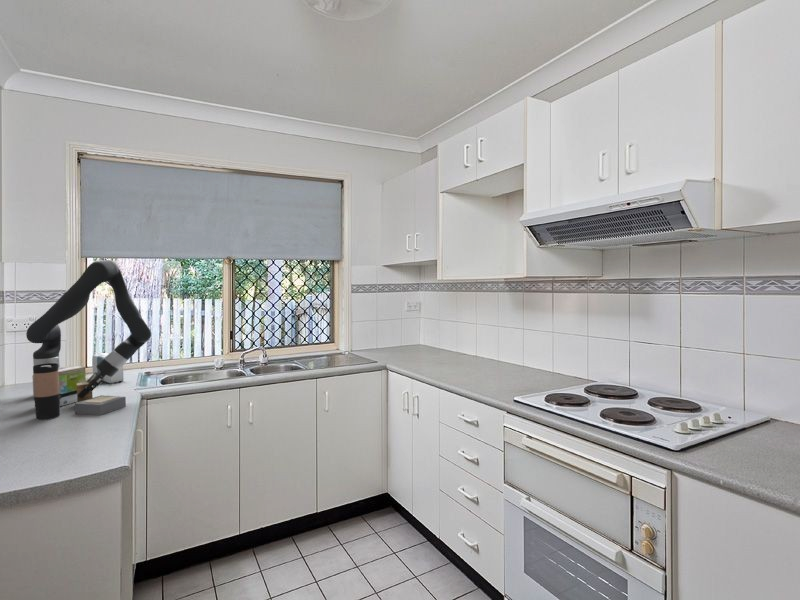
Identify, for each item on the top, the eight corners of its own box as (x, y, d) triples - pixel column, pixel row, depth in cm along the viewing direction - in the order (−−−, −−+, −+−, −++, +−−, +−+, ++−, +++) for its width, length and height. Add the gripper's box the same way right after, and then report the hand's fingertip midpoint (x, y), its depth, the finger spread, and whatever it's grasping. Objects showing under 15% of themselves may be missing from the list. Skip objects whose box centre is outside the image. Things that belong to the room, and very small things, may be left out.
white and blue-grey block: (92, 379, 235) (90, 341, 234) (109, 376, 242) (108, 339, 241) (108, 384, 223) (106, 344, 222) (126, 381, 229) (124, 342, 228)
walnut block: (78, 407, 184) (77, 385, 183) (77, 404, 188) (76, 383, 187) (92, 404, 187) (91, 383, 187) (92, 402, 191) (91, 381, 190)
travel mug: (39, 415, 173) (37, 364, 172) (63, 413, 176) (61, 362, 175) (31, 421, 166) (29, 367, 165) (56, 418, 169) (54, 366, 168)
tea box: (54, 409, 182) (52, 373, 181) (34, 407, 184) (32, 372, 183) (87, 399, 196) (85, 365, 196) (68, 398, 198) (66, 365, 198)
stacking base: (75, 413, 175) (74, 402, 175) (101, 404, 187) (100, 394, 187) (100, 415, 173) (100, 404, 173) (125, 406, 184) (125, 396, 184)
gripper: (103, 355, 197) (70, 387, 190) (106, 360, 185) (71, 393, 179) (117, 366, 200) (86, 397, 193) (121, 371, 189) (88, 404, 182)
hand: (79, 395), depth 186 cm, fingers closed on walnut block, 5 cm apart
